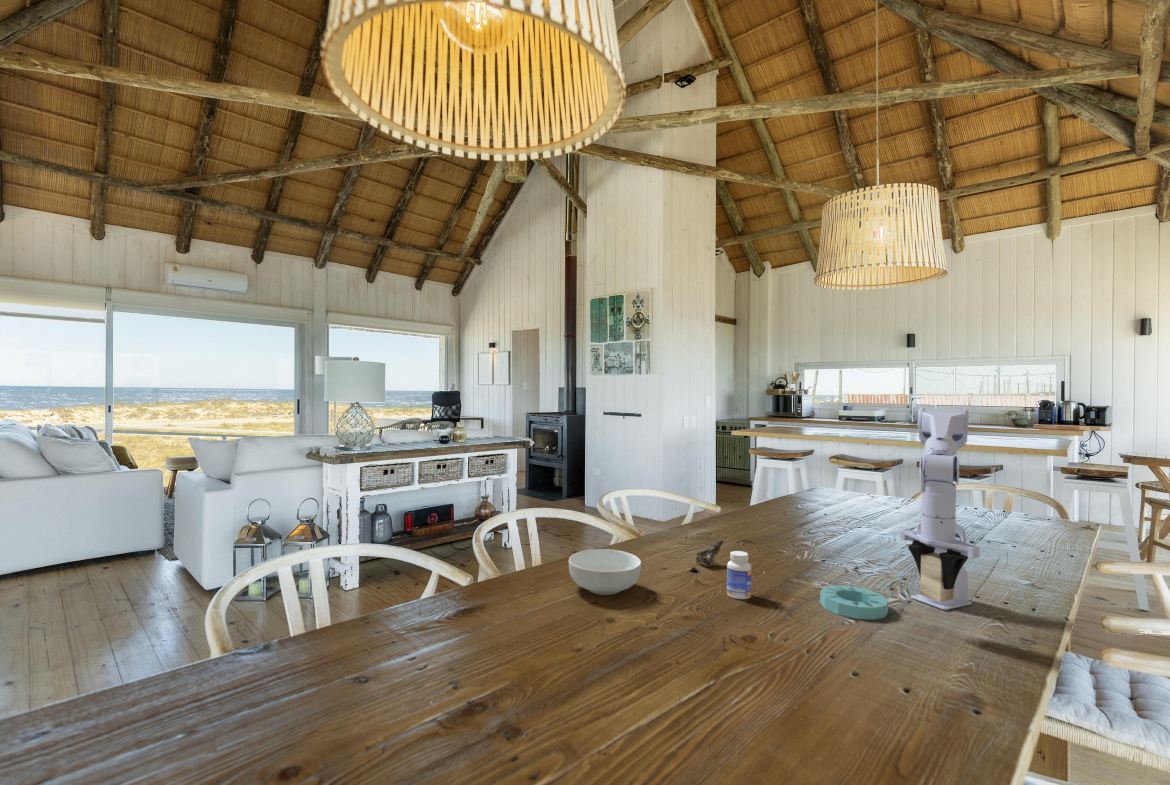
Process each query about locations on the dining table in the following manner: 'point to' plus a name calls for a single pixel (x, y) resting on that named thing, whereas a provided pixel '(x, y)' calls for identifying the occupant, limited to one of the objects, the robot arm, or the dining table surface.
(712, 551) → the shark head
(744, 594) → the pill bottle
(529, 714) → the dining table surface
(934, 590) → the ash peg
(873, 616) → the bead ring
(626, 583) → the cereal bowl
